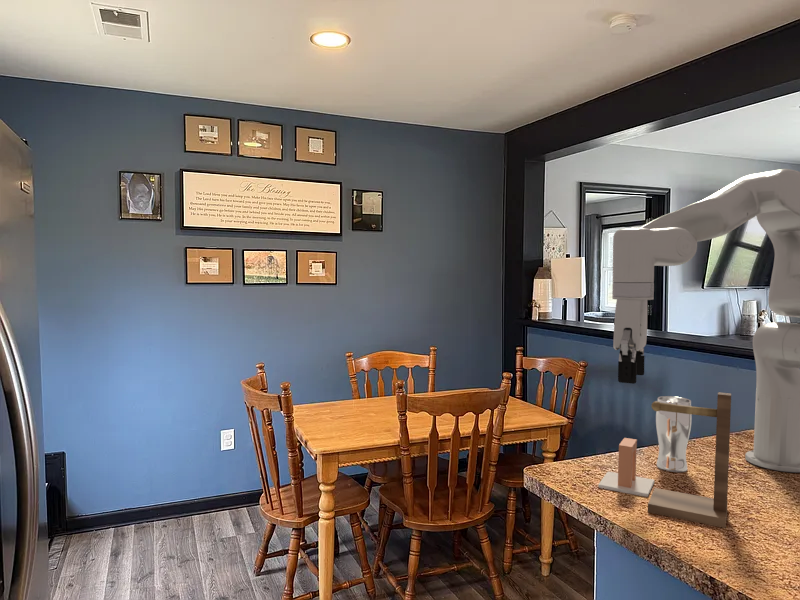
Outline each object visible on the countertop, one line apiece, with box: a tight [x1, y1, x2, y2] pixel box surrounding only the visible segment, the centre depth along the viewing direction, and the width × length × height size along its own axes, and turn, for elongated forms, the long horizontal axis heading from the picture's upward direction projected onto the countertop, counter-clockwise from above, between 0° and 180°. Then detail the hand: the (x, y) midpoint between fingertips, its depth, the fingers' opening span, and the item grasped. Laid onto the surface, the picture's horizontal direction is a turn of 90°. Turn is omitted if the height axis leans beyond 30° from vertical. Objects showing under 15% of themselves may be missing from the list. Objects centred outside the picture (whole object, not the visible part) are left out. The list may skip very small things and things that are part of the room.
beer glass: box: [655, 395, 692, 473], centre depth 126 cm, size 7×7×15 cm
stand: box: [647, 391, 732, 529], centre depth 103 cm, size 9×12×22 cm
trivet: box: [597, 471, 655, 498], centre depth 115 cm, size 9×9×1 cm
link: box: [617, 437, 638, 488], centre depth 115 cm, size 6×2×8 cm, turn 150°
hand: (631, 378), depth 115 cm, fingers open, 9 cm apart
